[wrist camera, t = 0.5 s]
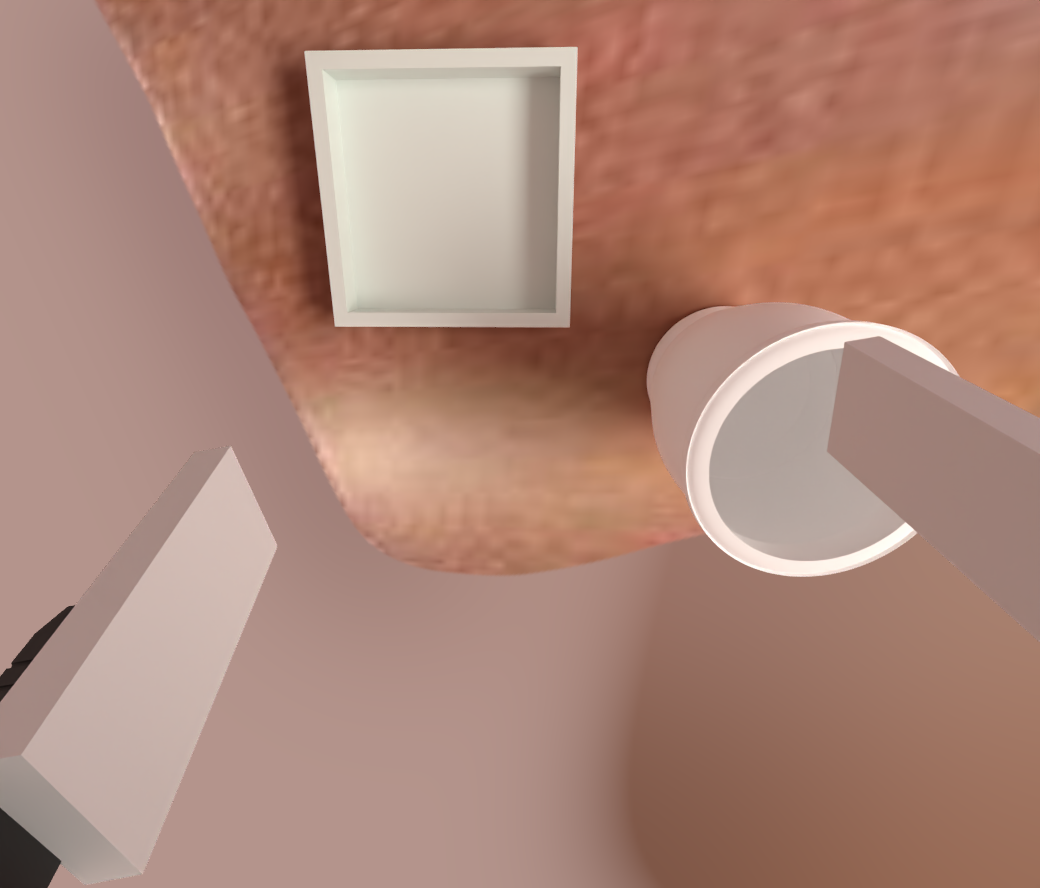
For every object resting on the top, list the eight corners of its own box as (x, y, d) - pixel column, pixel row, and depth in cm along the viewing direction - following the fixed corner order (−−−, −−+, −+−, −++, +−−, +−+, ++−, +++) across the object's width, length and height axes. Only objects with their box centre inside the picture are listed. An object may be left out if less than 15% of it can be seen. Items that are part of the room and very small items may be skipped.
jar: (751, 250, 33) (907, 258, 19) (829, 392, 36) (1017, 492, 21) (597, 355, 35) (632, 431, 21) (681, 480, 38) (762, 622, 24)
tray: (322, 65, 31) (304, 50, 28) (574, 61, 30) (577, 46, 28) (348, 320, 35) (335, 326, 33) (567, 321, 35) (569, 327, 32)
